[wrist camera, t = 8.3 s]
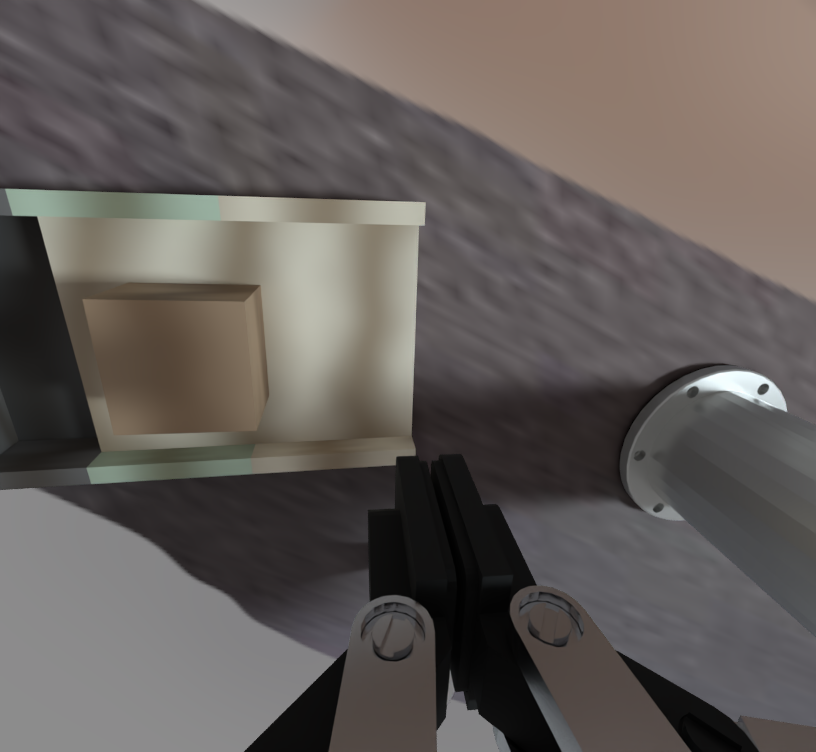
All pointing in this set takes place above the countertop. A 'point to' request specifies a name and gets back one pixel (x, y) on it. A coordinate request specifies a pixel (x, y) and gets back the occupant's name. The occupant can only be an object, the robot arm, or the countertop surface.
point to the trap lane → (208, 264)
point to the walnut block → (180, 357)
